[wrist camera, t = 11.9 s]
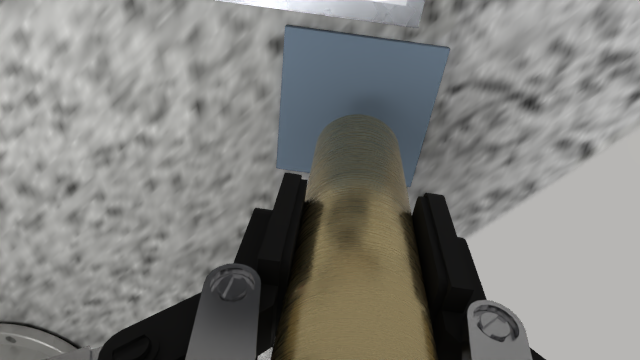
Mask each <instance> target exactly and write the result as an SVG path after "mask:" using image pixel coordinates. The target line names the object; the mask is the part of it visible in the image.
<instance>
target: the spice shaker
mask: <svg viewBox="0 0 640 360" xmlns="http://www.w3.org/2000/svg"><path fill="white" fill-rule="evenodd" d="M271 360H438V356H437V351H436V345H435V340H434V334H433V329H432V324H431V318H430V313H429V307H428V302H427V296H426V291H425V285H424V280H423V275H422V269H421V264H420V258H419V253H418V247H417V242H416V237H415V231H414V226H413V220H412V215H411V209H410V204H409V198H408V193H407V188H406V182H405V177H404V171H403V166H402V160H401V155H400V150H399V144H398V141H397V138H396V136H395V134H394V133H393V131H392V130H391V129H390V127H389V126H387V125H386V124H385V123H384V122H382V121H381V120H379V119H377V118H375V117H372V116H368V115H362V114H352V115H346V116H343V117H340V118H338V119H336V120H334V121H332V122H331V123H330V124H328V125H327V126H326V127H325V128H324V129H323V131H322V132H321V134H320V135H319V137H318V140H317V143H316V147H315V152H314V157H313V162H312V166H311V171H310V176H309V181H308V185H307V190H306V197H305V204H304V209H303V214H302V218H301V223H300V228H299V233H298V238H297V243H296V247H295V252H294V257H293V262H292V267H291V272H290V276H289V281H288V286H287V291H286V294H285V296H284V299H283V304H282V308H281V313H280V318H279V323H278V327H277V332H276V337H275V342H274V346H273V351H272V356H271Z"/></svg>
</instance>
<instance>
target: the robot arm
mask: <svg viewBox="0 0 640 360" xmlns="http://www.w3.org/2000/svg"><path fill="white" fill-rule="evenodd" d="M301 177H302V175H299V174H292V173H285V174H284V177H283V180H282V183H281V186H280V190H279V193H278V196H277V199H276V202H275V205H274V209H273V210H267V209H260V208H255V209H254V211H253V214H252V216H251V219H250V222H249V224H248V227H247V229H246V232H245V235H244V237H243V240H242V242H241V245H240V247H239V250H238V253H237V255H236V258H235V260H234V263H233V264H226V265H223V266H220V267H218V268H216V269H214V270H213V271H212V272H211V273H210V274H209V275H208V276H207V277H206V280H205V282H204V285H203V289H202V292H201V293H199V294H197V295H195V296H193V297H191V298H188V299H186V300H184V301H182V302H180V303H178V304H176V305H174V306H172V307H169V308H167V309H165V310H163V311H161V312H159V313H157V314H155V315H153V316H150V317H148V318H146V319H144V320H142V321H140V322H138V323H136V324H134V325H132V326H129V327H127V328H125V329H123V330H121V331H120V332H118V333H116V334H115V335H113V336H112V337H111V338H110V339H109V340H108V341H107V342H106V343H105V344H104V346H103V347H99V348H96V349H93V350H91V348H90V346H87V347H84V348H80V349H77V348H75V347H74V346H72V345H71V344H69V343H68V342H66V341H64V340H62V339H60V338H58V337H56V336H54V335H51V334H49V333H46V332H44V331H41V330H37V329H34V328H30V327H27V326H21V325H15V324H0V360H258V355H260V354H262V353H263V352H265V351H266V350H268V349H269V348H270V347H273V345H274V341H275V336H276V332H277V327H278V323H279V318H280V313H281V308H282V304H283V299H284V296H285V294H286V291H287V286H288V281H289V276H290V272H291V267H292V262H293V257H294V252H295V247H296V243H297V238H298V233H299V228H300V223H301V218H302V214H303V209H304V204H305V197H306V188H307V180H303V179H301ZM412 220H413V226H414V231H415V237H416V242H417V247H418V253H419V258H420V264H421V269H422V275H423V280H424V285H425V291H426V296H427V302H428V307H429V313H430V318H431V324H432V329H433V334H434V340H435V345H436V351H437V356H438V360H546V359H544V358H543V357H542V356H540V355H539V354H538V353H536V352H535V351H534V350H532V349H531V348H530V347H529V343H528V339H527V335H526V331H525V328H524V326H523V324H522V322H521V321H520V319H519V318H518V317H517V316H516V315H515V314H514V313H513V312H512V311H510V309H508V308H506V307H505V306H503V305H501V304H499V303H496V302H493V301H488V300H486V297H485V294H484V291H483V288H482V285H481V282H480V279H479V276H478V274H477V271H476V268H475V265H474V262H473V259H472V256H471V253H470V250H469V248H468V245H467V242H466V240H465V239H464V238H460V237H457V235H456V232H455V229H454V225H453V222H452V219H451V216H450V213H449V210H448V207H447V204H446V201H445V197H444V196H443V195H438V194H431V193H425V194H424V196H423V197H421V196H419V197H418V198H417V201H416V204H415V208H414V211H413V214H412Z"/></svg>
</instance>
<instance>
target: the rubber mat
mask: <svg viewBox="0 0 640 360" xmlns="http://www.w3.org/2000/svg"><path fill="white" fill-rule="evenodd" d="M449 51H450V48H449V47H444V46H436V45H429V44H422V43H414V42H407V41H400V40H393V39H385V38H378V37H371V36H364V35H356V34H349V33H342V32H334V31H327V30H320V29H313V28H305V27H298V26H291V25H286V26H285V37H284V53H283V69H282V86H281V102H280V118H279V134H278V150H277V167H276V168H279V169H286V170H293V171H300V172H307V173H310V171H311V166H312V162H313V157H314V152H315V147H316V143H317V140H318V137H319V135H320V134H321V132H322V131H323V129H324V128H325V127H326V126H327V125H328V124H330V123H331V122H332V121H334V120H336V119H338V118H340V117H343V116H346V115H352V114H362V115H368V116H372V117H375V118H377V119H379V120H381V121H382V122H384V123H385V124H386V125H387V126H389V127H390V129H391V130H392V131H393V133H394V134H395V136H396V138H397V141H398V144H399V150H400V155H401V160H402V166H403V171H404V177H405V182H406V187H410V186H411V183H412V179H413V176H414V172H415V169H416V165H417V162H418V159H419V155H420V152H421V148H422V145H423V141H424V138H425V134H426V131H427V127H428V124H429V120H430V117H431V113H432V110H433V107H434V103H435V100H436V96H437V93H438V89H439V86H440V82H441V79H442V75H443V72H444V68H445V65H446V61H447V58H448V55H449Z"/></svg>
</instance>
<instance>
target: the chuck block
mask: <svg viewBox="0 0 640 360" xmlns="http://www.w3.org/2000/svg"><path fill="white" fill-rule="evenodd" d="M217 1H224V2H231V3H239V4H246V5H253V6H260V7H268V8H275V9H282V10H290V11H297V12H304V13H311V14H319V15H326V16H333V17H341V18H348V19H355V20H362V21H370V22H377V23H384V24H392V25H399V26H406V27H413V28H419V23H420V19H421V15H422V11H423V7H424V2H425V0H217Z"/></svg>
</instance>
